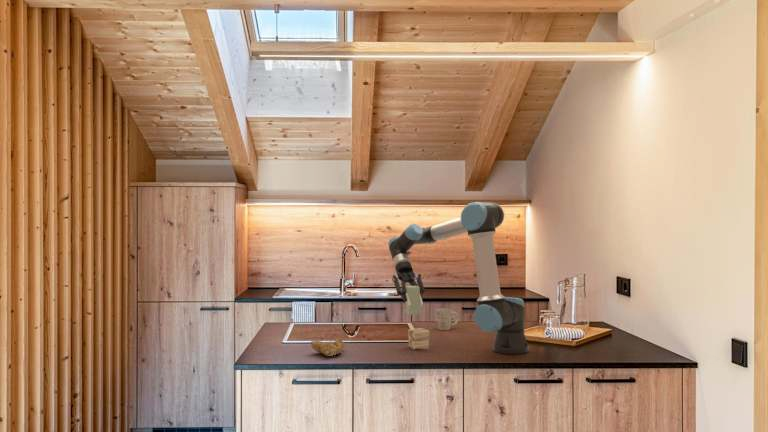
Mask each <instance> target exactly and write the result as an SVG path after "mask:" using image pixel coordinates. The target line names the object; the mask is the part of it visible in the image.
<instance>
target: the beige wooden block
mask: <svg viewBox="0 0 768 432" xmlns="http://www.w3.org/2000/svg"><path fill="white" fill-rule="evenodd" d="M409 346H410V347H411V348H410V347H409ZM408 347H409V348H410V349H412V350H413V349H414V350H413V351H416V350H415V349H422V350H429V349H430V339H429V340H425V341H413V340H411V339H408Z"/></svg>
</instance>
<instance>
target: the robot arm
mask: <svg viewBox="0 0 768 432" xmlns="http://www.w3.org/2000/svg"><path fill="white" fill-rule="evenodd" d="M504 219H505V213H504V210H503V208H502V207H501V206H500V204H498V203H496V202H493V201H492V202H491V201H489V202H488V201H485V202H484V201H475V202H470V203H468V204H466V205H465V206H464V208H463V209H462V210H461V212H460V217H457V218H454V219H449V220H447V221H443V222H440V223H438V224H434V225H431V226H427V227H421V226H420V225H418V224H416V223H411V224H410V225H408V226H407V227H406V228H405V230H403V232H402V233H401V234H400V235H399V236H394V237H393V238H390V239H389V240H388V250H389V253H390V255H391V258H392V262H393V265H394V268H395V273H396V275H395V274H394V275H392V277H391V280H392V282H393V283H394V287H395V288H394V289H395V291H396V294H397V296H401V298H402V300H403V302H406V304H407V307H408V309H410V306H411V303H410V300H409V297H408V294H407V293H406V294H405V286H406V283H407V284H408V283H409V286H418V287H420V309H422V308H423V307H424V301H423V300H424V296H423V295H424V294H425V291H426V289H425V287H424V284H423V281H422V275H421V273H418V274H417V273H416V274H415V272H414V269H413V265H412V263H411V261H410V260H411V259H410V257H409V254H408V251H410V249H412V247H413V246H415V245H424V244H425V245H426V244H429V245H430V244H434V243H436V242H438V241H440V240H445V239H449V238H452V237H455V236H456V237H457V236H459V235H463V234H467V236H468V237H469V238H470V239H471V240H472V247H473V253H474V254H473V255H474V261H475V262H474V263H475V268H476V276H477V277H476V278H477V283H478V289H479V290H478V291H479V297H478V298H477V299H476V302H477V307H476V308H475V310H474V312H473V313H474V314H473V319H474V322H475V325H476V327H478V328H479V329H480V330H481V331H483V332H484V333H485V332H486V333H495V337H494V340H493V343H492V351H494V352H495V353H499V354H504V355H506V354H507V355H521V354H526V353H528V352H529V344H528V341H527V338H526V335H525V303H524V300H523V298H520V297H510V296H509V297H508V296H504V295H503V294H502V293H501V286H500V280H499V271H498V265H497V257H496V252H495V244H494V235H495V234H496V232H497V231H496V228H499V227H501V225H502V224H503V221H504ZM399 281H400V282H401V285H400V283H399Z"/></svg>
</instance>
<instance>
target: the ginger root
mask: <svg viewBox="0 0 768 432" xmlns="http://www.w3.org/2000/svg"><path fill="white" fill-rule="evenodd" d="M310 345H311V348H312V349H313V350H314V351H315V352H317V353H321V354H323V355H325V356H326V357H328V356H332V357H334V356H337V355H336V354H338V353H341V354H342V352H343V348H345V347H346V344H345V343H344V341H343V338H341V337H337V338H336V339H335V340H334V341H326V342H323V341H321V340H314V341H313V340H311V342H310ZM333 355H334V356H333Z"/></svg>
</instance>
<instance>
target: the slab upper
mask: <svg viewBox="0 0 768 432" xmlns="http://www.w3.org/2000/svg"><path fill="white" fill-rule="evenodd" d="M407 333H408V335H407V336H408V337H407V338H408V340H409V339H411V340H413V341H425V340H429V341H430V330H428V329H426V328H424V327H421V328H419V327H418V328H412V329H411V328H410V329H408V330H407Z"/></svg>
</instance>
